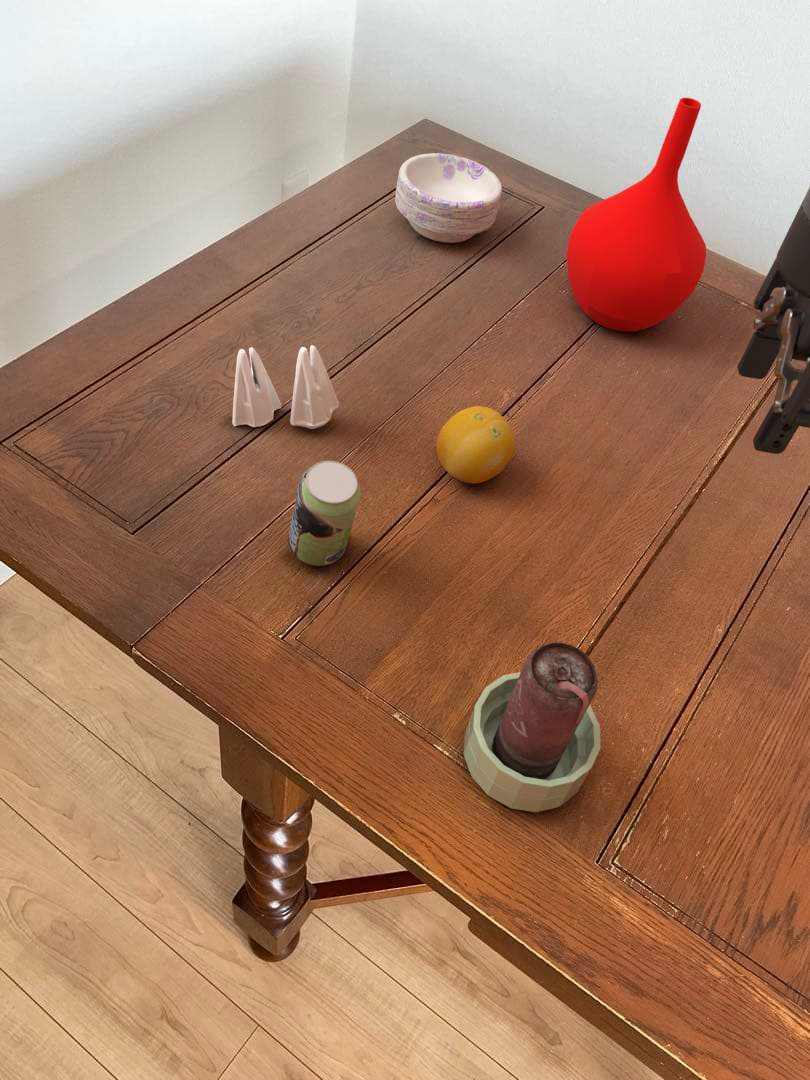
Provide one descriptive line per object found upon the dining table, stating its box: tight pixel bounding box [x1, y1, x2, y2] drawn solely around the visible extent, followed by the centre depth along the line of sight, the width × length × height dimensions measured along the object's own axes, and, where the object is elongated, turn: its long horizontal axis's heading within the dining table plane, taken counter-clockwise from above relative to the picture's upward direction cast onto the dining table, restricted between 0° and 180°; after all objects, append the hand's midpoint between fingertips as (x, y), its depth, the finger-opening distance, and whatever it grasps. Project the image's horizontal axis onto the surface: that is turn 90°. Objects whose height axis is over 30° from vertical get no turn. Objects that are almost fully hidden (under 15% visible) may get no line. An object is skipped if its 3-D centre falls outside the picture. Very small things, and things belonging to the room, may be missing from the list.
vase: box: [566, 97, 707, 333], centre depth 126 cm, size 18×18×30 cm
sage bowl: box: [463, 671, 601, 813], centre depth 86 cm, size 11×11×6 cm
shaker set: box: [231, 344, 340, 430], centre depth 109 cm, size 12×4×11 cm, turn 89°
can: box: [492, 641, 599, 780], centre depth 83 cm, size 6×6×14 cm
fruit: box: [435, 405, 516, 484], centre depth 109 cm, size 9×8×8 cm
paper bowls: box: [394, 152, 503, 244], centre depth 142 cm, size 15×15×8 cm
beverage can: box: [287, 460, 362, 567], centre depth 96 cm, size 6×7×12 cm
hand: (757, 410), depth 73 cm, fingers open, 8 cm apart
